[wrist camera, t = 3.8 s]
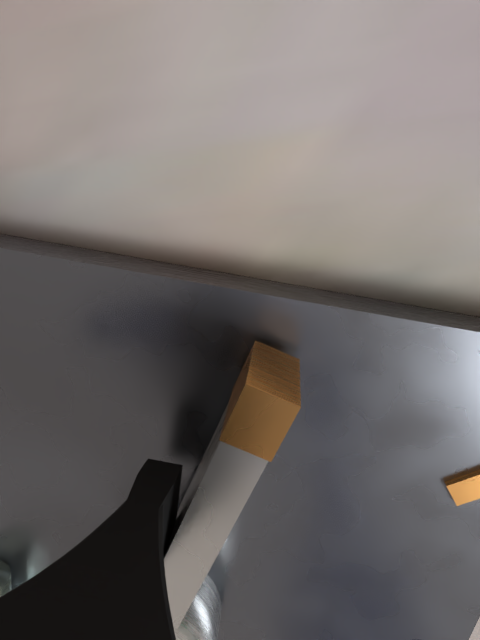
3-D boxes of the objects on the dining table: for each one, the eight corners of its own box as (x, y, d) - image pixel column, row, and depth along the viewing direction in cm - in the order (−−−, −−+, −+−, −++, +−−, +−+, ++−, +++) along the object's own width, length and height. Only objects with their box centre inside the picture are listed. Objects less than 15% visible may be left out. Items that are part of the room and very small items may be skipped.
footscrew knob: (193, 664, 17) (173, 764, 14) (72, 616, 17) (27, 707, 14) (360, 381, 12) (380, 447, 9) (193, 310, 12) (163, 354, 9)
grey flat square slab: (389, 742, 20) (406, 842, 17) (-34, 644, 21) (-86, 722, 18) (572, 333, 13) (655, 384, 10) (-79, 220, 14) (-177, 235, 11)
